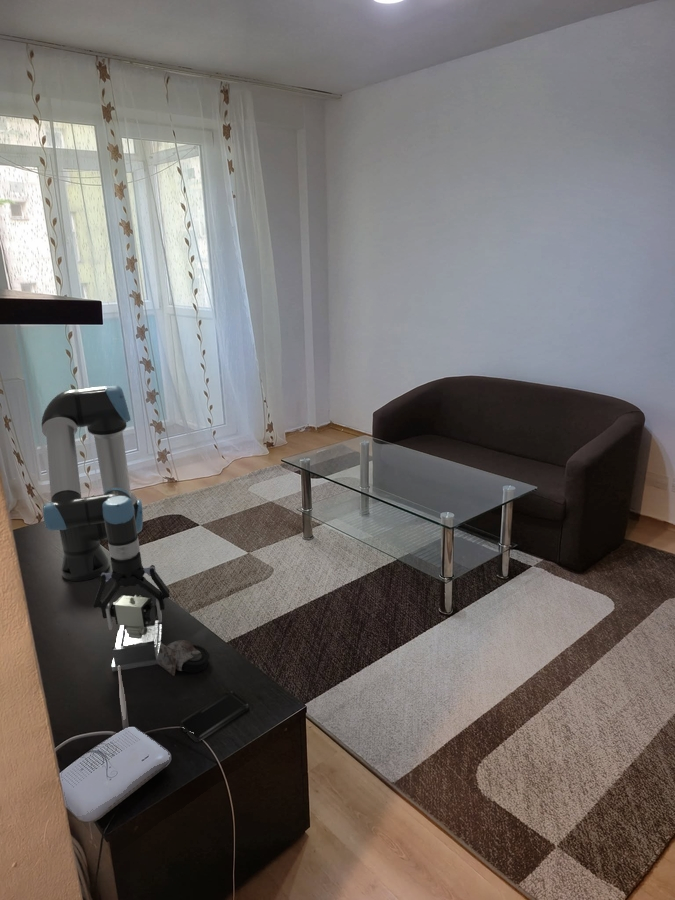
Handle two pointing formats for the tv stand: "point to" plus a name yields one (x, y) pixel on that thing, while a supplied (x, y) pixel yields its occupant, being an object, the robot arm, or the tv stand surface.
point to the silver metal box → (137, 648)
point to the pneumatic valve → (134, 614)
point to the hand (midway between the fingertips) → (135, 623)
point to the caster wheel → (182, 657)
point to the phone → (214, 716)
